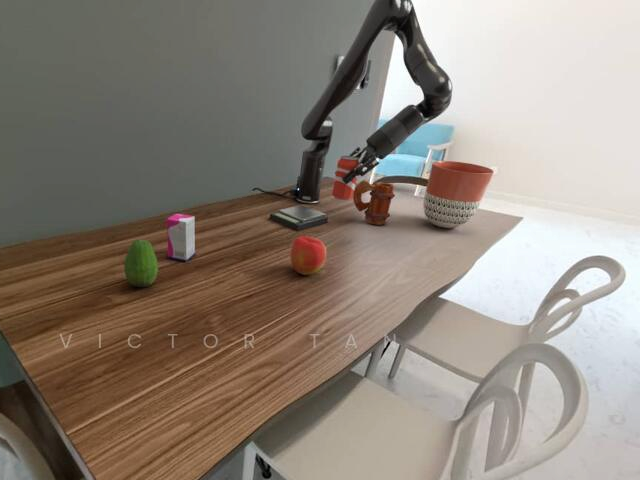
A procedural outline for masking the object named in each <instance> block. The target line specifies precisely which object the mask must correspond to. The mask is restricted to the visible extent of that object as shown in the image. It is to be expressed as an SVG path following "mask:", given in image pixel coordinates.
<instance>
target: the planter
mask: <svg viewBox="0 0 640 480" xmlns="http://www.w3.org/2000/svg"><path fill="white" fill-rule="evenodd" d="M494 173H495V171H494V170H493V169H492V168H489V167H487V166H483V165H479V164H475V163H470V162H463V161H453V160H437V161H433V162H432V163H431V167H430V171H429V175H428V180H427V184H426V188H425V192H424V196H423V205H422V207H423V213H424V215H425V218H426V219H427V221H428V222H429V223H431V224H432V225H434V226H436V227H439V228H443V229H455V228H458V227H460V226H463V225H464V224H466V223H468V222H469V221H470V220H471V219H472V218H473V217H474V216H475V214H476V212H477V211H478V210H479V208H480V205H481V202H482V200H483V198H484V196H485V194H486V191H487V189H488V186H489V184H490V182H491V181H492V177H493V175H494Z"/></svg>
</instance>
